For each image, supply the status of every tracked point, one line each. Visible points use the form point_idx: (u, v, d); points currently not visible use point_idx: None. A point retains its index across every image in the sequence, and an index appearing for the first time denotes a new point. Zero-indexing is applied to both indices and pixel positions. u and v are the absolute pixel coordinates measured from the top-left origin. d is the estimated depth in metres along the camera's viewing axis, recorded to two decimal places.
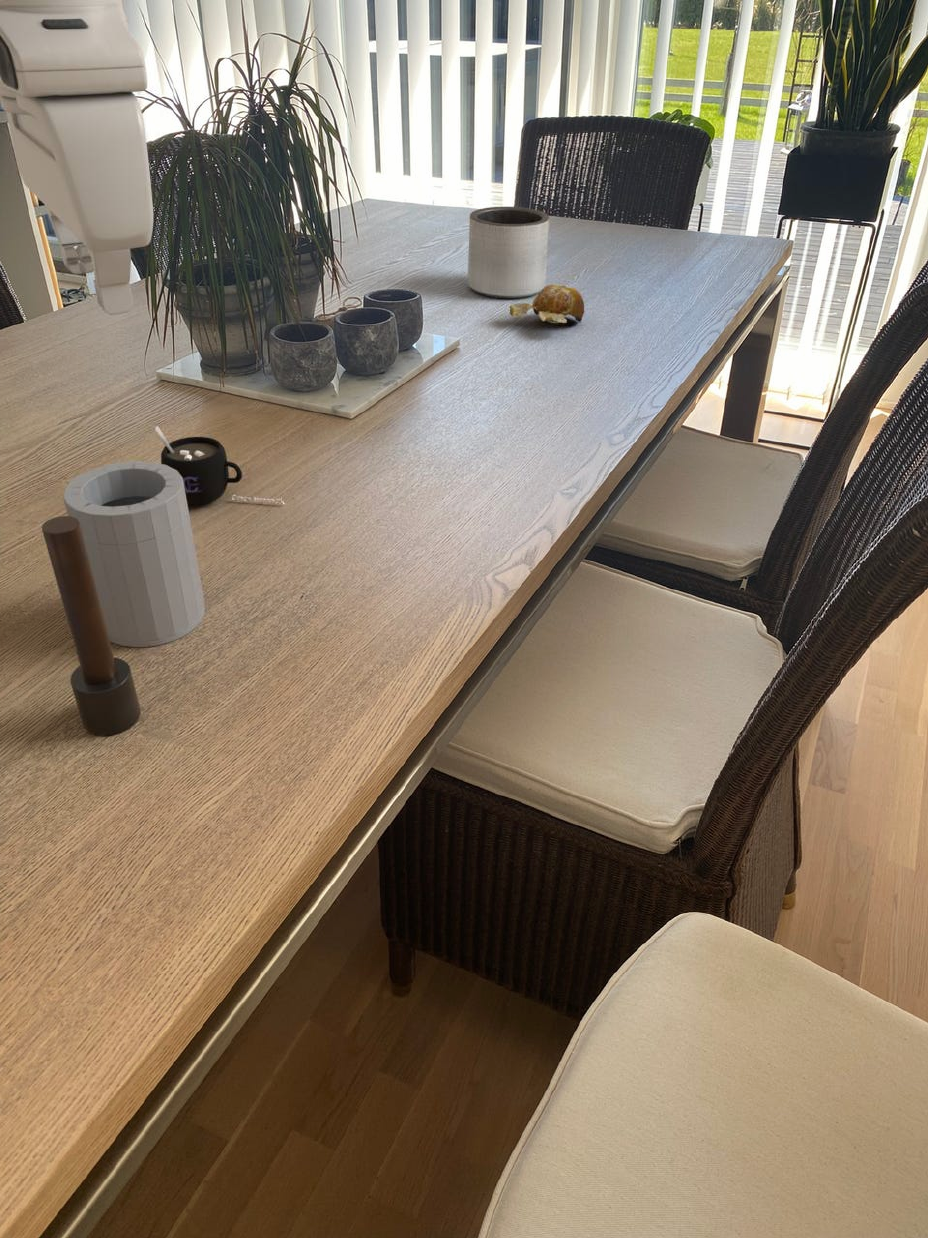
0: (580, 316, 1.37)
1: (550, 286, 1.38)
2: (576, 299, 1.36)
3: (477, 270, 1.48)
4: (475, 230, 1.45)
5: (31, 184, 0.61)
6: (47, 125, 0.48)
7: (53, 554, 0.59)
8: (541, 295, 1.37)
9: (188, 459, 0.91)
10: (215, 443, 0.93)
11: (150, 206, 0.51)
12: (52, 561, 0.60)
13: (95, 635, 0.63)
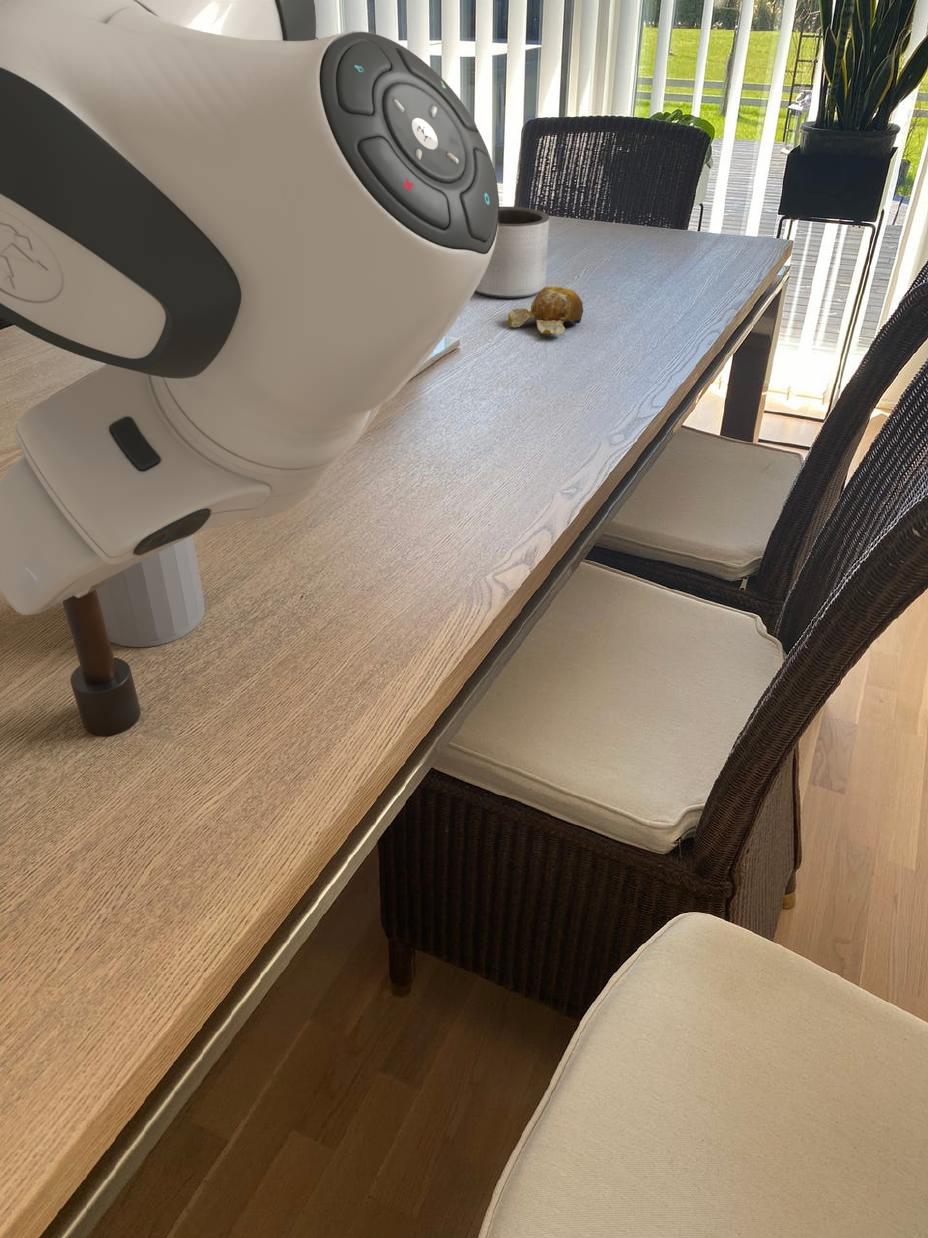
0: (579, 318, 1.37)
1: (547, 289, 1.37)
2: (574, 303, 1.35)
3: None
4: None
5: None
6: (5, 472, 0.37)
7: None
8: (538, 301, 1.37)
9: None
10: None
11: (28, 608, 0.40)
12: None
13: (95, 635, 0.63)
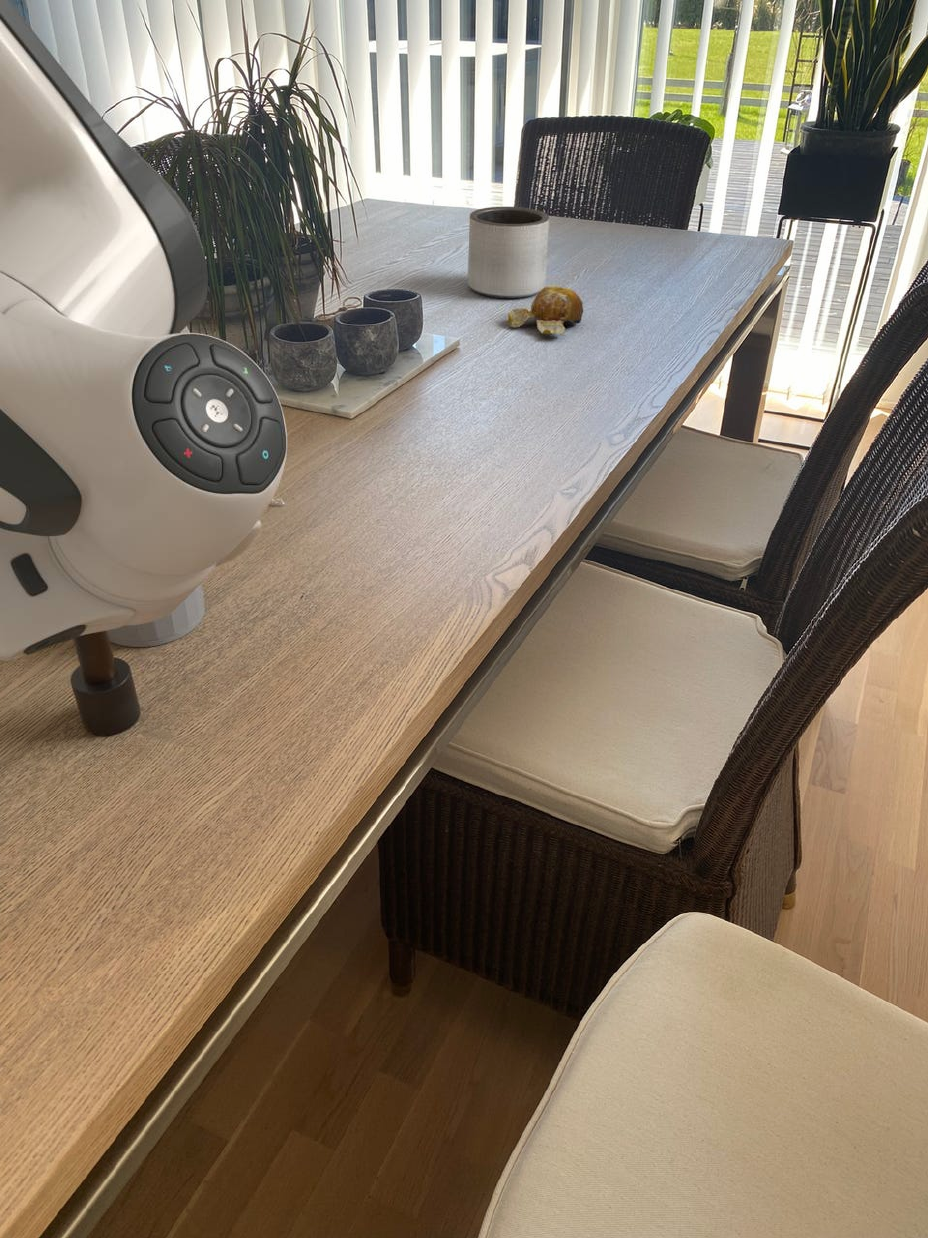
0: (579, 318, 1.37)
1: (547, 289, 1.37)
2: (574, 303, 1.35)
3: (477, 270, 1.48)
4: (475, 230, 1.45)
5: None
6: None
7: None
8: (538, 301, 1.37)
9: None
10: None
11: None
12: None
13: (95, 635, 0.63)
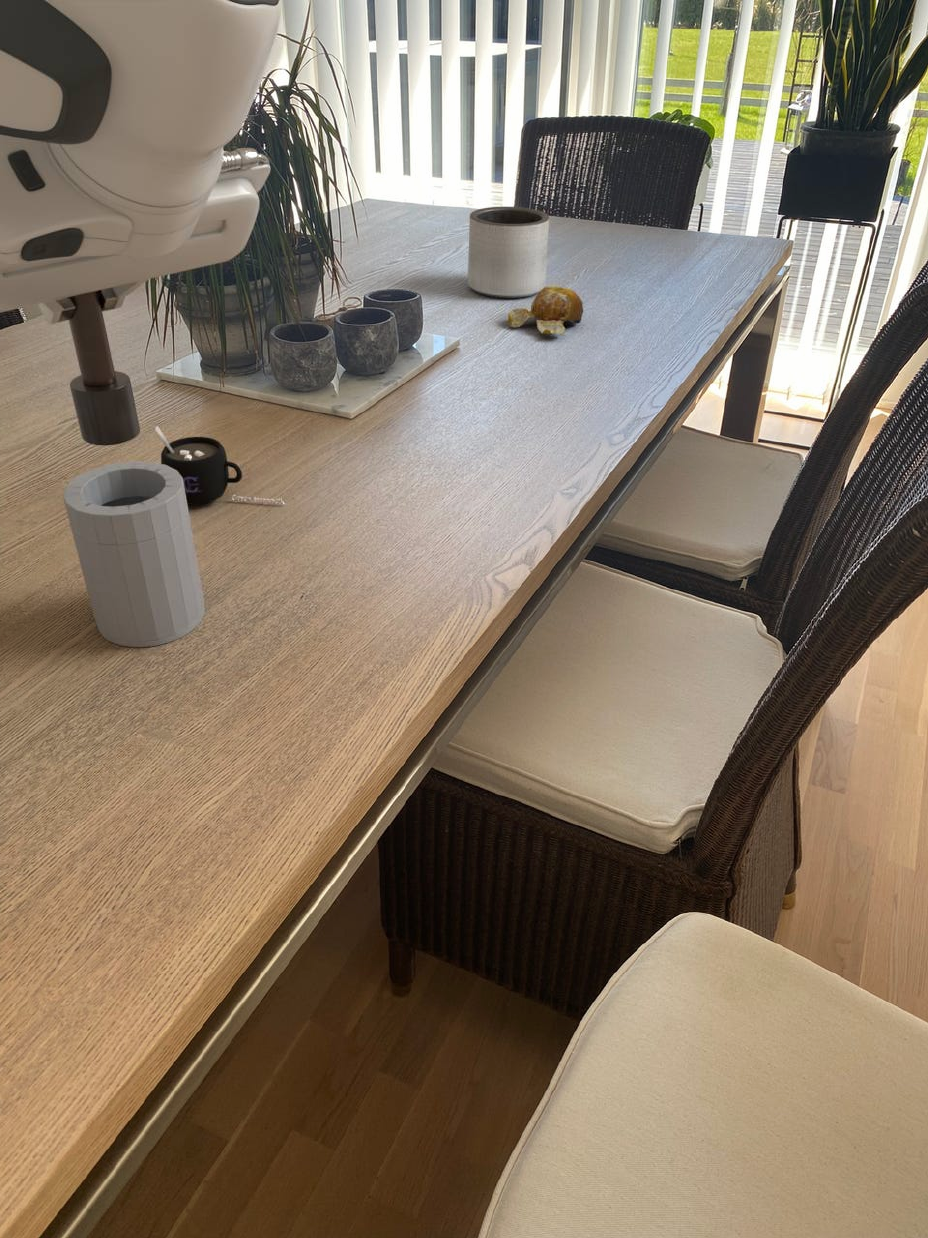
0: (579, 318, 1.37)
1: (547, 289, 1.37)
2: (574, 303, 1.35)
3: (477, 270, 1.48)
4: (475, 230, 1.45)
5: None
6: None
7: None
8: (538, 301, 1.37)
9: (188, 459, 0.91)
10: (215, 443, 0.93)
11: None
12: None
13: (94, 328, 0.63)
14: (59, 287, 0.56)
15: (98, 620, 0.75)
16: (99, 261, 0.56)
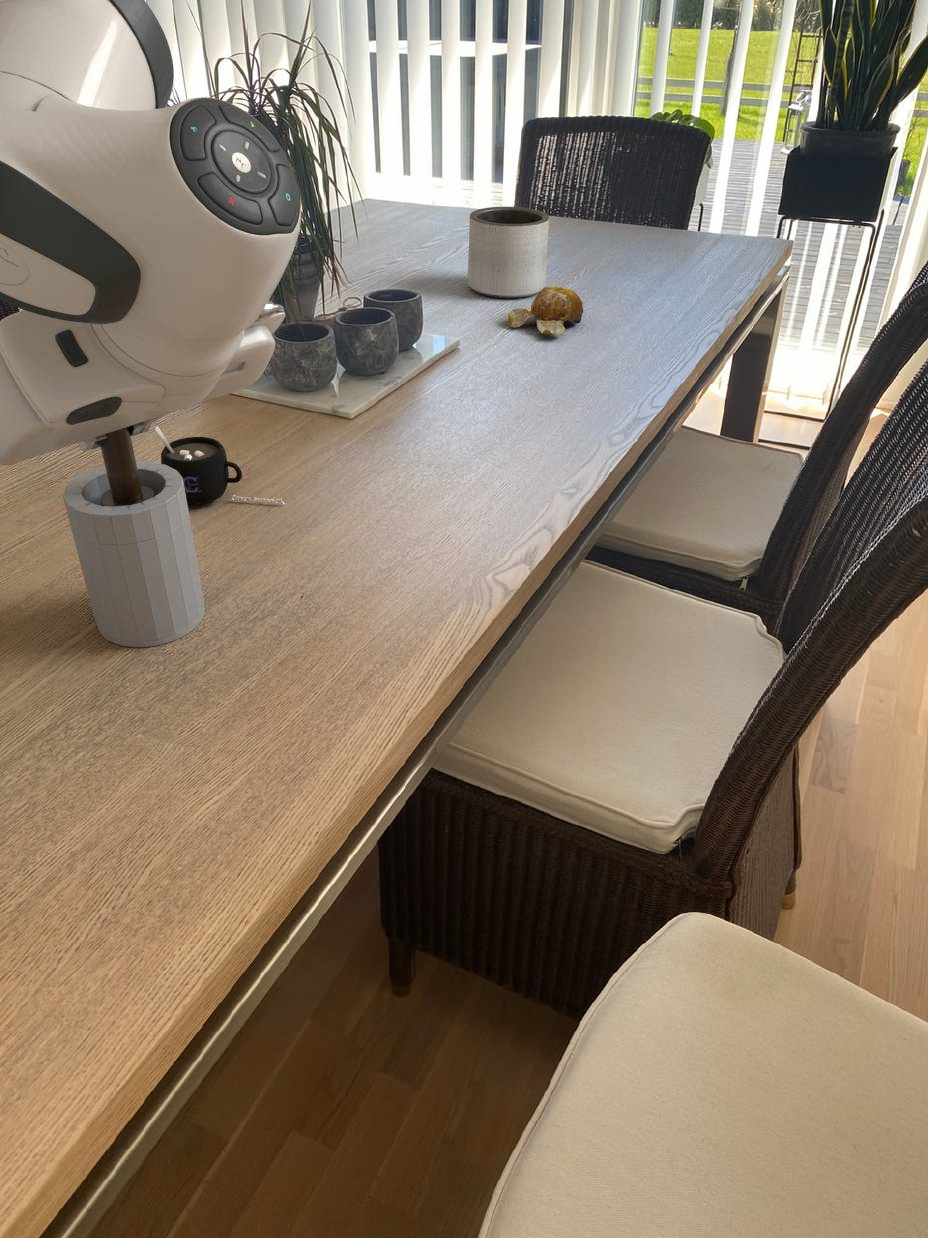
0: (579, 318, 1.37)
1: (547, 289, 1.37)
2: (574, 303, 1.35)
3: (477, 270, 1.48)
4: (475, 230, 1.45)
5: None
6: None
7: None
8: (538, 301, 1.37)
9: (188, 459, 0.91)
10: (215, 443, 0.93)
11: None
12: None
13: (123, 453, 0.69)
14: (95, 430, 0.62)
15: (98, 620, 0.75)
16: None
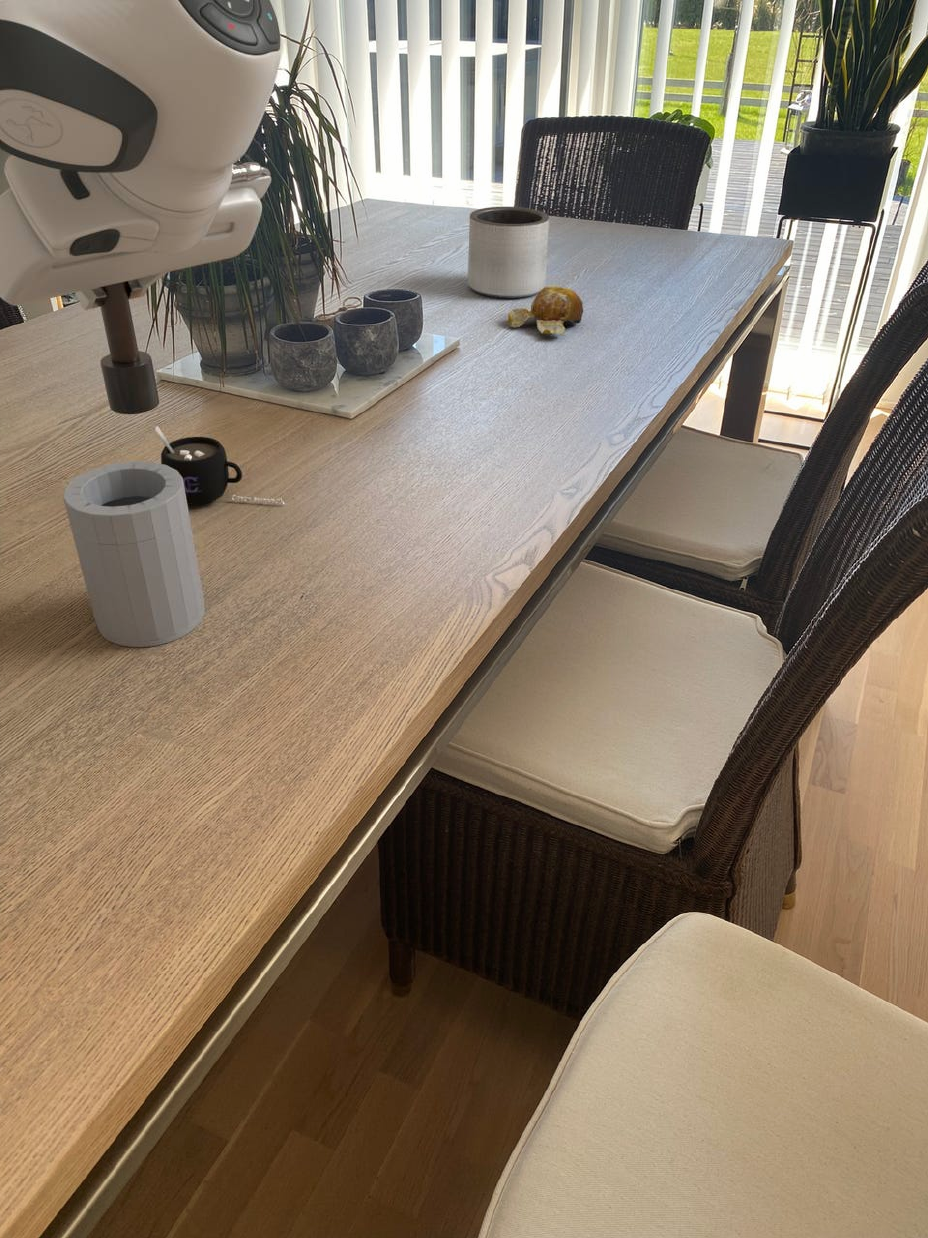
0: (579, 318, 1.37)
1: (547, 289, 1.37)
2: (574, 303, 1.35)
3: (477, 270, 1.48)
4: (475, 230, 1.45)
5: None
6: None
7: None
8: (538, 301, 1.37)
9: (188, 459, 0.91)
10: (215, 443, 0.93)
11: (8, 293, 0.63)
12: None
13: (122, 313, 0.74)
14: (96, 278, 0.68)
15: (98, 620, 0.75)
16: (129, 256, 0.67)
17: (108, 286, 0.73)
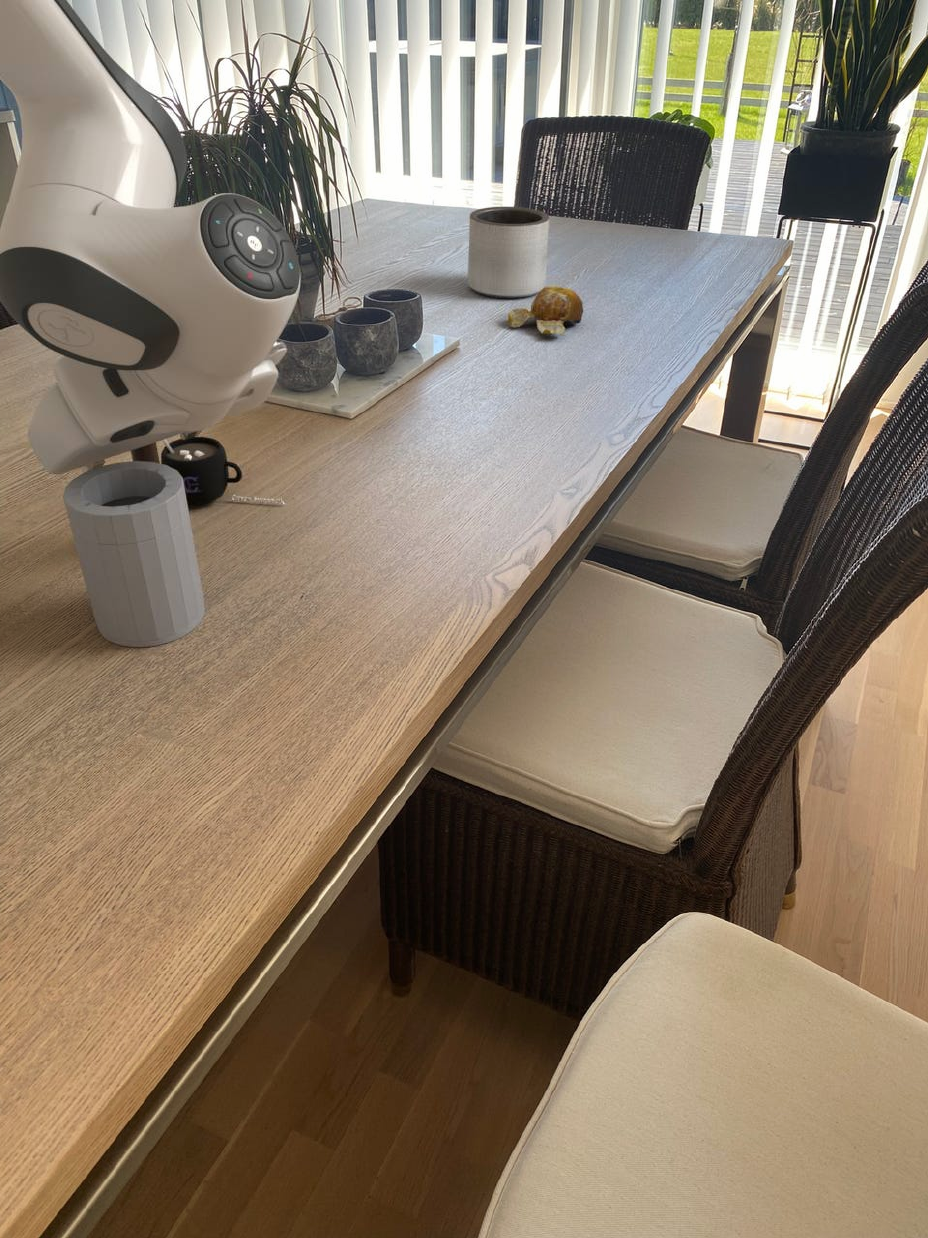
0: (579, 318, 1.37)
1: (547, 289, 1.37)
2: (574, 303, 1.35)
3: (477, 270, 1.48)
4: (475, 230, 1.45)
5: None
6: None
7: None
8: (538, 301, 1.37)
9: (188, 459, 0.91)
10: (215, 443, 0.93)
11: (53, 468, 0.71)
12: None
13: None
14: (129, 445, 0.75)
15: (98, 620, 0.75)
16: None
17: (141, 448, 0.81)
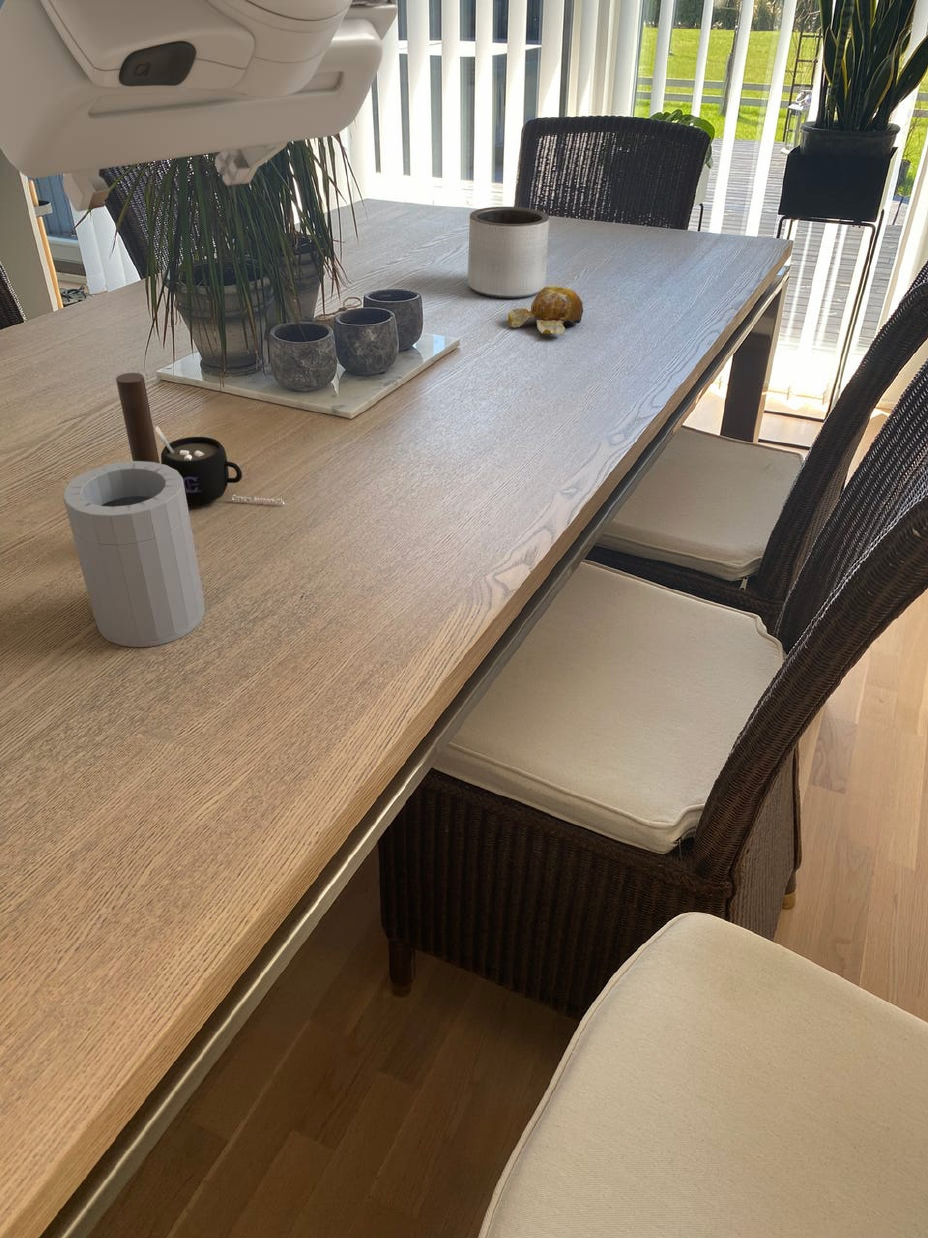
0: (579, 318, 1.37)
1: (547, 289, 1.37)
2: (574, 303, 1.35)
3: (477, 270, 1.48)
4: (475, 230, 1.45)
5: None
6: None
7: (124, 399, 0.78)
8: (538, 301, 1.37)
9: (188, 459, 0.91)
10: (215, 443, 0.93)
11: (22, 153, 0.42)
12: (123, 406, 0.79)
13: None
14: (149, 143, 0.46)
15: (98, 620, 0.75)
16: (198, 110, 0.46)
17: (141, 448, 0.81)
